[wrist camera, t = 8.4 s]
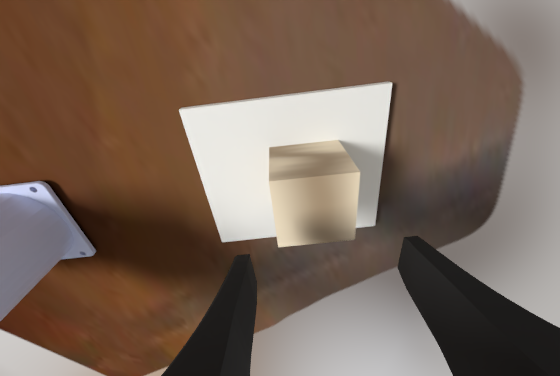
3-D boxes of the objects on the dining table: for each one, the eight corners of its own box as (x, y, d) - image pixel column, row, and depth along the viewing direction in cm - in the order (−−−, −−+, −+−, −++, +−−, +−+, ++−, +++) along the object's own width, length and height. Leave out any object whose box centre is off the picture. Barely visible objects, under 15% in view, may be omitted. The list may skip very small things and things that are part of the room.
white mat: (223, 237, 23) (222, 242, 22) (181, 107, 16) (178, 109, 16) (372, 221, 22) (374, 225, 22) (388, 81, 16) (392, 82, 15)
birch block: (276, 203, 20) (278, 247, 16) (269, 147, 17) (268, 181, 13) (336, 197, 20) (354, 239, 16) (338, 139, 17) (360, 171, 13)
